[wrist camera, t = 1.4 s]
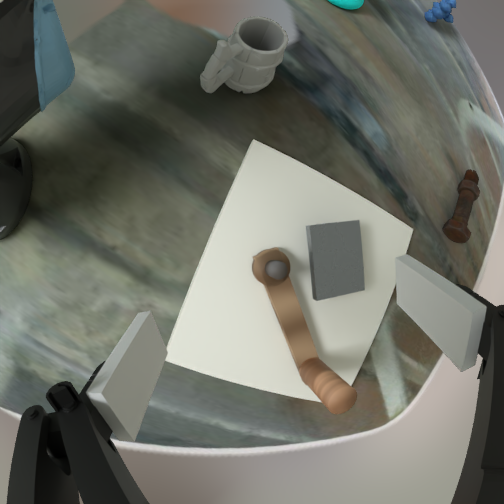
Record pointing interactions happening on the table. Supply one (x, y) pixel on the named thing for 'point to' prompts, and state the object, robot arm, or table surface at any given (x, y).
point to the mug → (246, 57)
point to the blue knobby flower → (441, 11)
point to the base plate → (296, 249)
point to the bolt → (463, 208)
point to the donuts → (348, 3)
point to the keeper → (335, 259)
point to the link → (300, 332)
